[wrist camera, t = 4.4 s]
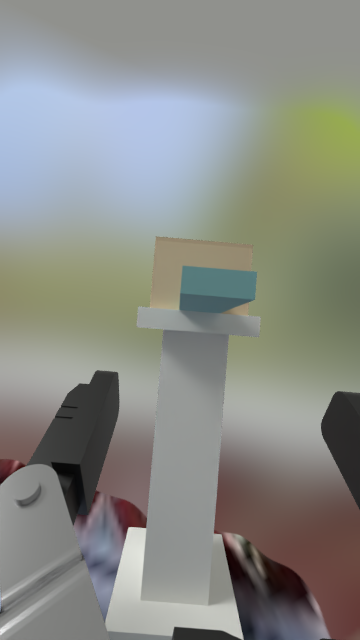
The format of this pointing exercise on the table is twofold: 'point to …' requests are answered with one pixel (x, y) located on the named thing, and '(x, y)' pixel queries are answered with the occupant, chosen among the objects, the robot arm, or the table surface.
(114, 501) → the table surface
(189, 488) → the stand
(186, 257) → the carton
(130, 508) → the table surface
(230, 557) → the table surface
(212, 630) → the robot arm
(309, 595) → the table surface
